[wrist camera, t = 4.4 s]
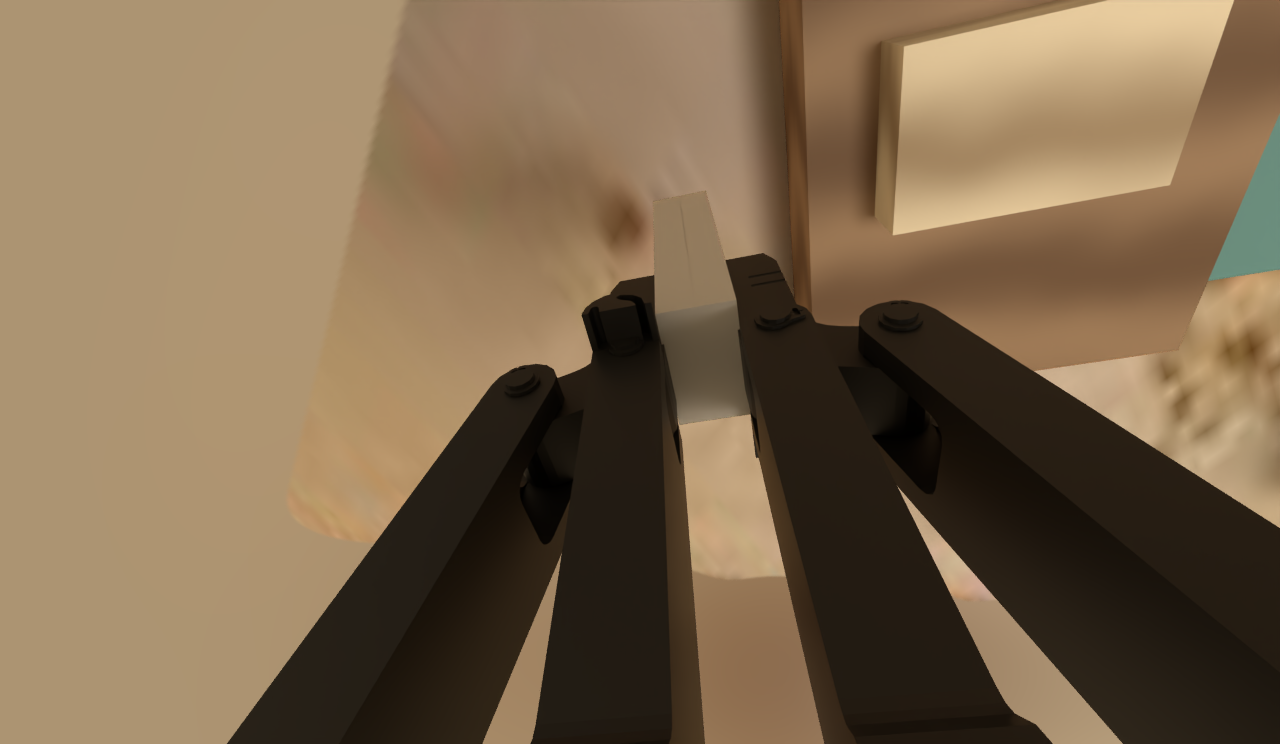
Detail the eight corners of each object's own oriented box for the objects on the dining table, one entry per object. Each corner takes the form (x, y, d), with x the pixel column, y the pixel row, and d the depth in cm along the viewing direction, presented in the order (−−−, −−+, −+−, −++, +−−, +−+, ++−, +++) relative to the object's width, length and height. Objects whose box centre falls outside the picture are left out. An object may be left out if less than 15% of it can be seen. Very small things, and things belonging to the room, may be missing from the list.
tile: (881, 40, 18) (904, 46, 16) (1187, -30, 17) (1244, -31, 15) (874, 216, 21) (892, 235, 20) (1128, 168, 20) (1170, 185, 18)
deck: (763, -292, 16) (790, -361, 13) (1382, -490, 14) (1598, -631, 11) (797, 356, 30) (814, 402, 27) (1116, 307, 28) (1178, 350, 24)
